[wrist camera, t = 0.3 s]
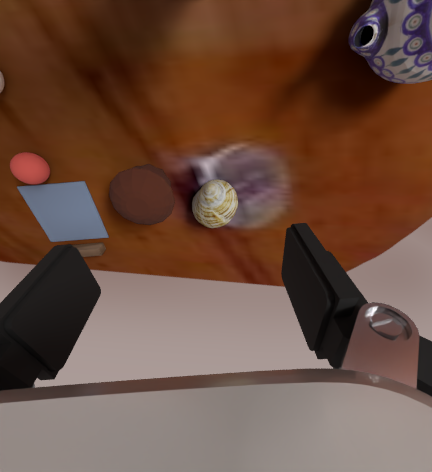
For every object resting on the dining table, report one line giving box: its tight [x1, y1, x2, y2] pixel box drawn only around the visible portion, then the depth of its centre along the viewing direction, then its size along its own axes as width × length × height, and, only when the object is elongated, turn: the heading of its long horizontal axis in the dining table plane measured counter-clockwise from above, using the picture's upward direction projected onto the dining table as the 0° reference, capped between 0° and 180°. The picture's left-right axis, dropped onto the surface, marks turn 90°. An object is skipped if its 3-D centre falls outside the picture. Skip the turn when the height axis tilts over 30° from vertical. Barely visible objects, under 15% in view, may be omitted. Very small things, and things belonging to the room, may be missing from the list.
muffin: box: [109, 164, 175, 225], centre depth 41 cm, size 12×11×10 cm
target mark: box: [17, 181, 109, 242], centre depth 48 cm, size 14×14×1 cm
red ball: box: [10, 152, 50, 184], centre depth 40 cm, size 6×6×6 cm
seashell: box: [192, 180, 238, 228], centre depth 45 cm, size 10×10×10 cm
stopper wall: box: [72, 243, 106, 257], centre depth 53 cm, size 2×10×2 cm, turn 94°
